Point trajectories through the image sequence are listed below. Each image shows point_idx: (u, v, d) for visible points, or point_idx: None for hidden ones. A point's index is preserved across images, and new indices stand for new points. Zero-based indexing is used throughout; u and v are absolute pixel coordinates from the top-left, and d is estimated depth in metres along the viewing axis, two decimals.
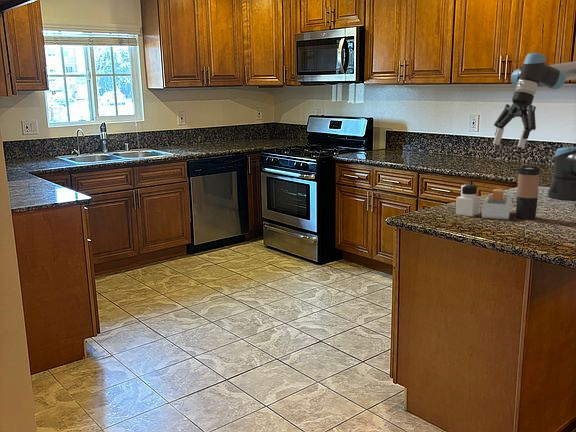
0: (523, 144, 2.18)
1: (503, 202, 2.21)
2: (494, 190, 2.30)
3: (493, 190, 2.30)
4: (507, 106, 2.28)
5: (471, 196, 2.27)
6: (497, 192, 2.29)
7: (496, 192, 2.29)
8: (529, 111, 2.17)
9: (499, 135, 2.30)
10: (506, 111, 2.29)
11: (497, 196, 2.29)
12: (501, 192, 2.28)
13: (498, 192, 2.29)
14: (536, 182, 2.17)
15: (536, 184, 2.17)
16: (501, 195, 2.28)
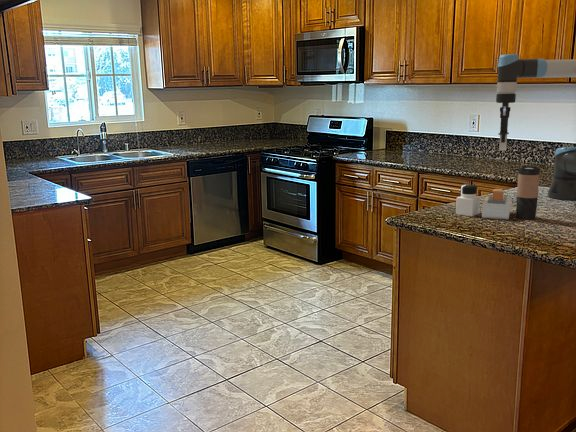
0: (504, 147, 2.37)
1: (503, 202, 2.21)
2: (494, 190, 2.30)
3: (493, 190, 2.30)
4: None
5: (471, 196, 2.27)
6: (497, 192, 2.29)
7: (496, 192, 2.29)
8: (501, 116, 2.32)
9: None
10: None
11: (497, 196, 2.29)
12: (501, 192, 2.28)
13: (498, 192, 2.29)
14: (536, 182, 2.17)
15: (536, 184, 2.17)
16: (501, 195, 2.28)
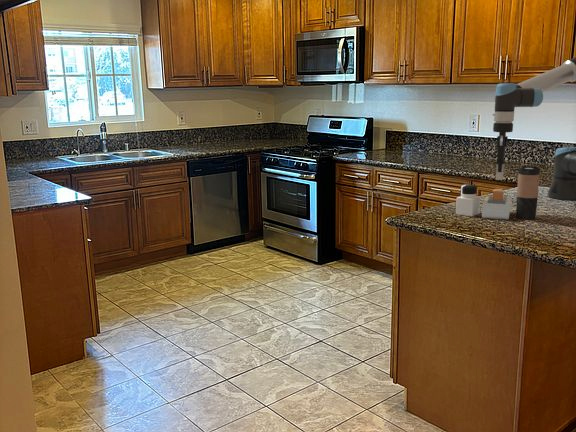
0: (500, 177, 2.34)
1: (503, 202, 2.21)
2: (494, 190, 2.30)
3: (493, 190, 2.30)
4: None
5: (471, 196, 2.27)
6: (497, 192, 2.29)
7: (496, 192, 2.29)
8: (497, 146, 2.28)
9: None
10: None
11: (497, 196, 2.29)
12: (501, 192, 2.28)
13: (498, 192, 2.29)
14: (536, 182, 2.17)
15: (536, 184, 2.17)
16: (501, 195, 2.28)
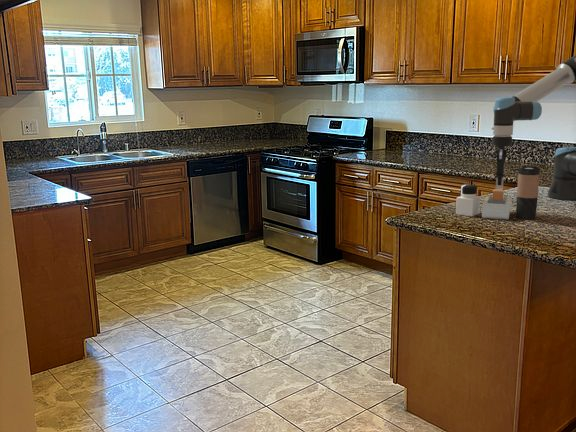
0: None
1: (503, 202, 2.21)
2: (494, 190, 2.30)
3: (493, 190, 2.30)
4: None
5: (471, 196, 2.27)
6: (497, 192, 2.29)
7: (496, 192, 2.29)
8: (497, 160, 2.30)
9: None
10: None
11: (497, 196, 2.29)
12: (501, 192, 2.28)
13: (498, 192, 2.29)
14: (536, 182, 2.17)
15: (536, 184, 2.17)
16: (501, 195, 2.28)
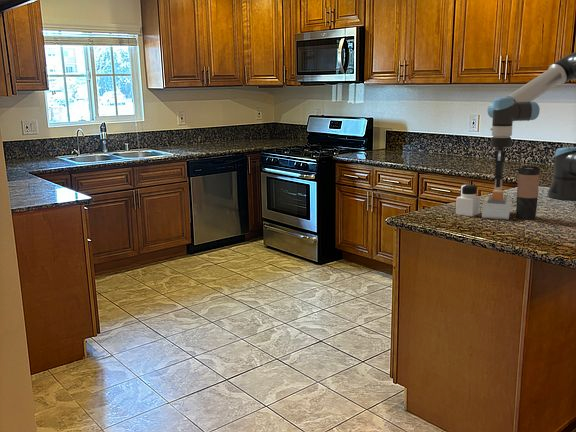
0: None
1: (503, 202, 2.21)
2: (494, 191, 2.28)
3: (493, 191, 2.29)
4: None
5: (471, 196, 2.27)
6: (497, 193, 2.27)
7: (496, 193, 2.27)
8: (495, 161, 2.24)
9: None
10: None
11: (497, 197, 2.28)
12: (501, 193, 2.27)
13: (498, 193, 2.27)
14: (536, 182, 2.17)
15: (536, 184, 2.17)
16: (501, 196, 2.27)
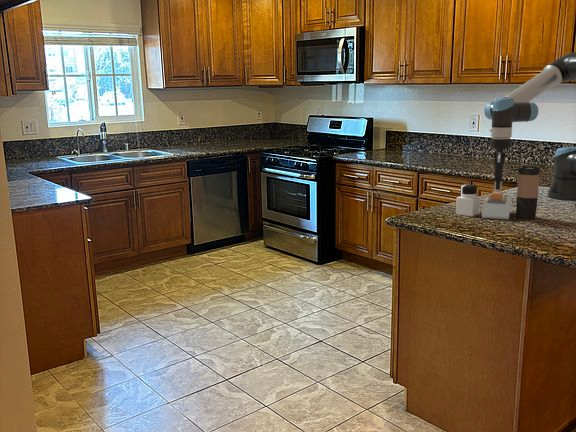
0: None
1: (503, 202, 2.21)
2: (493, 192, 2.25)
3: (492, 192, 2.25)
4: None
5: (471, 196, 2.27)
6: (496, 195, 2.24)
7: (495, 195, 2.24)
8: None
9: None
10: None
11: (496, 199, 2.24)
12: (500, 195, 2.23)
13: (497, 195, 2.24)
14: (536, 182, 2.17)
15: (536, 184, 2.17)
16: (500, 198, 2.23)
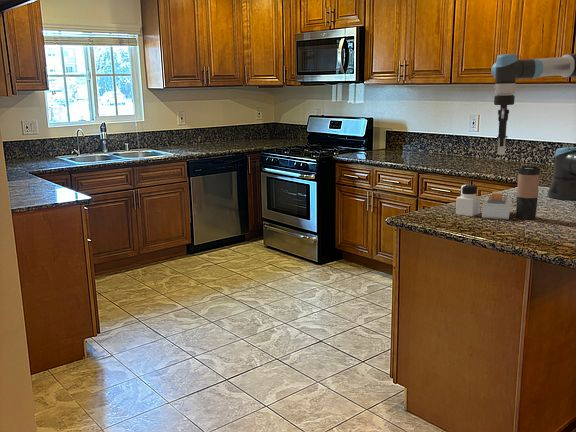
0: (502, 151, 2.27)
1: (503, 202, 2.21)
2: (493, 192, 2.25)
3: (492, 192, 2.25)
4: None
5: (471, 196, 2.27)
6: (496, 195, 2.24)
7: (495, 195, 2.24)
8: (499, 119, 2.21)
9: None
10: None
11: (496, 199, 2.24)
12: (500, 195, 2.23)
13: (497, 195, 2.24)
14: (536, 182, 2.17)
15: (536, 184, 2.17)
16: (500, 198, 2.23)
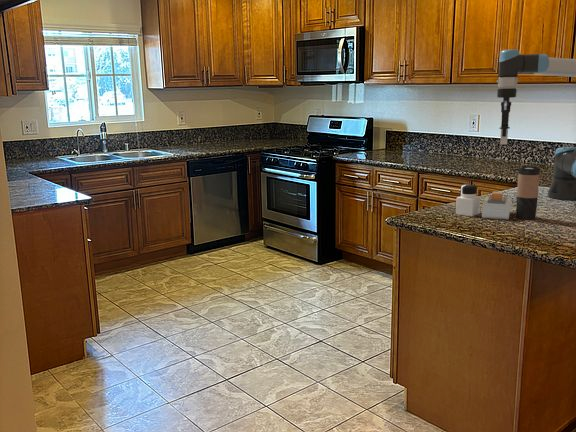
0: (505, 141, 2.42)
1: (503, 202, 2.21)
2: (493, 192, 2.25)
3: (492, 192, 2.25)
4: None
5: (471, 196, 2.27)
6: (496, 195, 2.24)
7: (495, 195, 2.24)
8: (502, 111, 2.36)
9: None
10: None
11: (496, 199, 2.24)
12: (500, 195, 2.23)
13: (497, 195, 2.24)
14: (536, 182, 2.17)
15: (536, 184, 2.17)
16: (500, 198, 2.23)
